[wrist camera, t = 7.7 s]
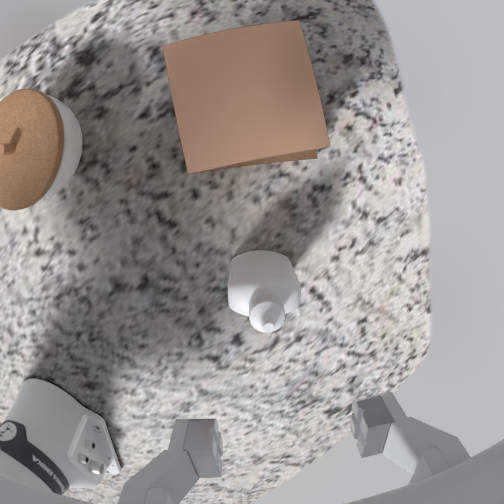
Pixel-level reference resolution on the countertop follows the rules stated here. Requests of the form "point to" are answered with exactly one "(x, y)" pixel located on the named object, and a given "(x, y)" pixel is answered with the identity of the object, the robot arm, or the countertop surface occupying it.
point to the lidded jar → (36, 148)
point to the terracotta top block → (245, 95)
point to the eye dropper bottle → (263, 288)
